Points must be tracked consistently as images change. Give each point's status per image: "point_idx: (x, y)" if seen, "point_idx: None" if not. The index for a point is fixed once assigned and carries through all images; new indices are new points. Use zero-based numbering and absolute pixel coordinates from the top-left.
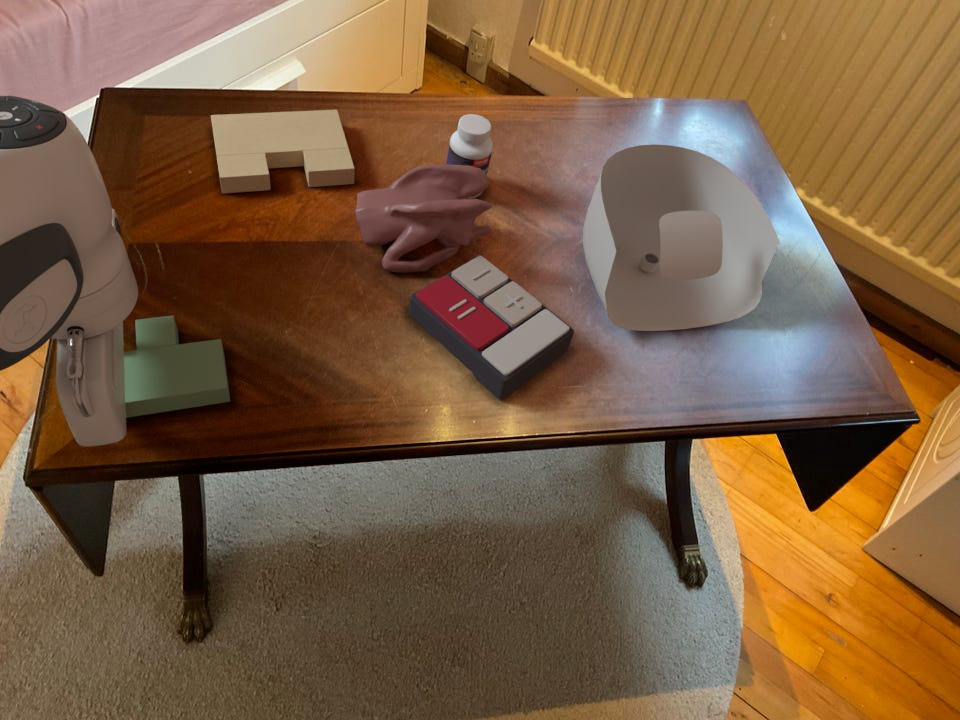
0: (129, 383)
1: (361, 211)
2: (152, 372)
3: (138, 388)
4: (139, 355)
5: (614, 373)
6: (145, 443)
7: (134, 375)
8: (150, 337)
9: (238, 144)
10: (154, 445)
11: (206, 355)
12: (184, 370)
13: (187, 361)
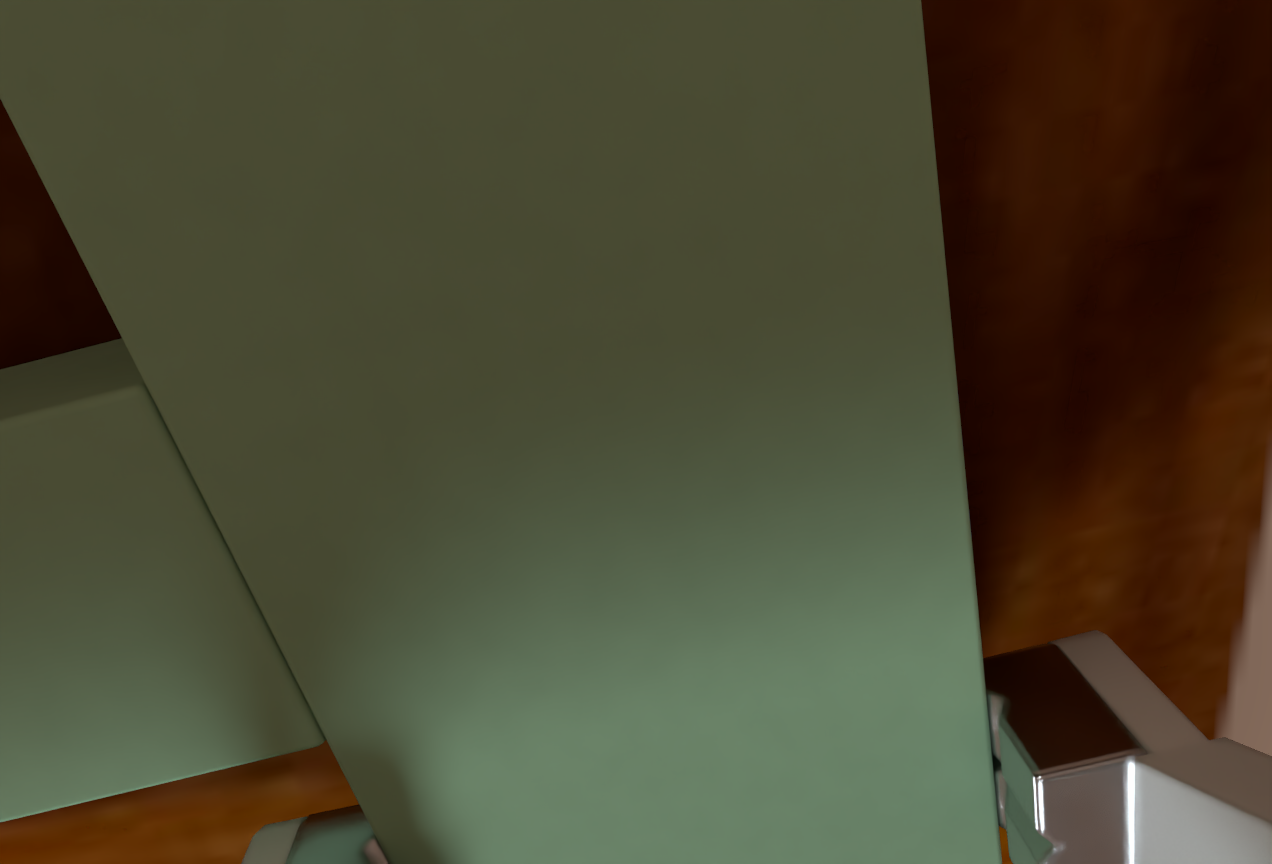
0: (761, 712)
1: None
2: (610, 549)
3: (829, 629)
4: (396, 708)
5: None
6: (1149, 407)
7: (660, 694)
8: (122, 667)
9: None
10: (1183, 337)
11: None
12: (548, 200)
13: (394, 187)
